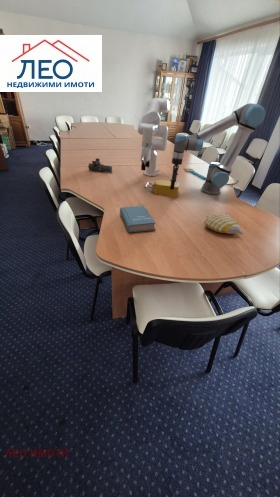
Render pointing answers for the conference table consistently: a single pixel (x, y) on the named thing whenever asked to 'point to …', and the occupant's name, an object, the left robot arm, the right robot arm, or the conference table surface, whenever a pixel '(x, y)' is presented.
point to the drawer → (150, 187)
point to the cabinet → (166, 188)
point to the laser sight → (99, 166)
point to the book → (137, 219)
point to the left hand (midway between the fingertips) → (145, 168)
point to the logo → (194, 172)
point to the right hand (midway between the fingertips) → (172, 186)
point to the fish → (223, 224)
